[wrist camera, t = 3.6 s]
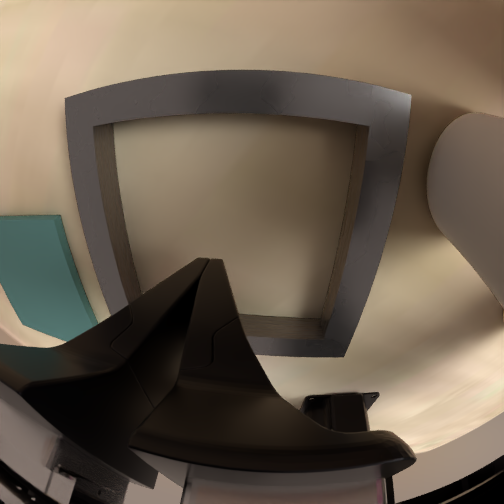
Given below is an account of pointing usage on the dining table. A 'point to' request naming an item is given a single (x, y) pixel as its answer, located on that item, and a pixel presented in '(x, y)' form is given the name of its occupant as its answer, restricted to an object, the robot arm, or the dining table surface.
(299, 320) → the gray square frame
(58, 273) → the teal mat
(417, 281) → the dining table surface
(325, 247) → the dining table surface
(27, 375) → the robot arm
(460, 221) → the beverage can
